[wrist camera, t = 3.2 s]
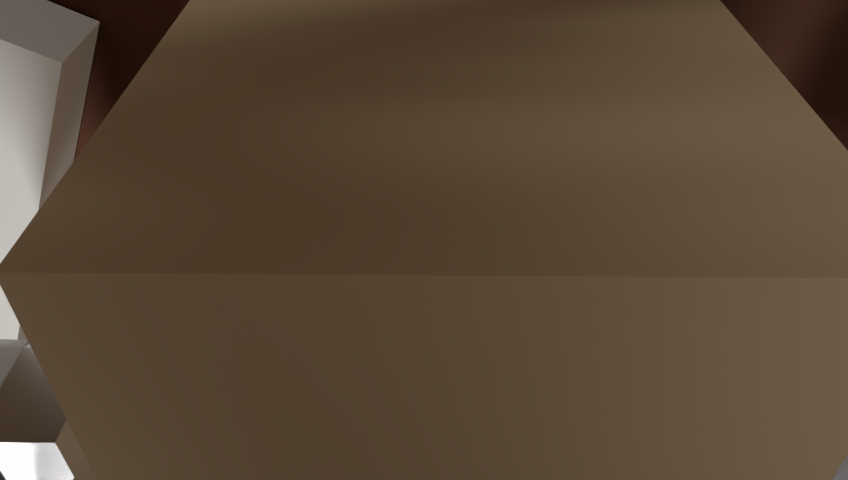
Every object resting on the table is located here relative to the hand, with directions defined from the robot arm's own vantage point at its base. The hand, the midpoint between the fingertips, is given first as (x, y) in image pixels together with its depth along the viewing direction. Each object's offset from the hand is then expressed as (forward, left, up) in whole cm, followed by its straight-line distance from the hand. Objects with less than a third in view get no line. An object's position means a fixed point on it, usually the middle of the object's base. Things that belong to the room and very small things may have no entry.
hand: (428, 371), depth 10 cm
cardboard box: (0, 0, -2) cm, 3 cm away
